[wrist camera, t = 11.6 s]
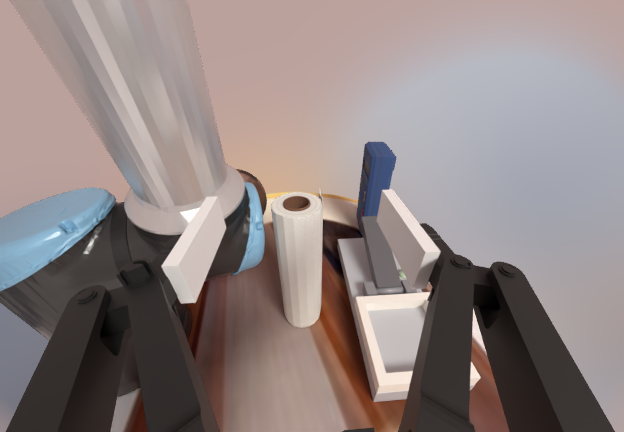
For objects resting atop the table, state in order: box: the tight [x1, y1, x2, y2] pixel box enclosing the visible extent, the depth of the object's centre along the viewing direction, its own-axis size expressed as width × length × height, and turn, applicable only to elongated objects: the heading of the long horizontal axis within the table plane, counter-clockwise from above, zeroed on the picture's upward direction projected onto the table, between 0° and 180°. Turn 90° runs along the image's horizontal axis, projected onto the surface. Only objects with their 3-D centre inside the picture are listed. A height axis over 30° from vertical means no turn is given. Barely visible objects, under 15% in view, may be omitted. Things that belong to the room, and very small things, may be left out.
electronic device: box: [357, 142, 396, 235], centre depth 53 cm, size 10×5×20 cm, turn 178°
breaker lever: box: [360, 216, 404, 295], centre depth 42 cm, size 2×5×15 cm
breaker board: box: [337, 238, 481, 402], centre depth 39 cm, size 28×12×4 cm, turn 4°
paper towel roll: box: [271, 188, 323, 328], centre depth 33 cm, size 7×6×21 cm
